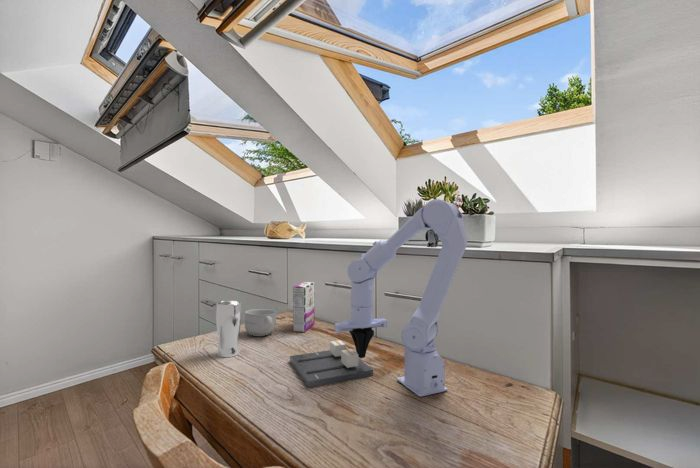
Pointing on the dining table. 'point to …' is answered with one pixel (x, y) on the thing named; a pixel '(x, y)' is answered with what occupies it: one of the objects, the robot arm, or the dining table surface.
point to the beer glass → (228, 327)
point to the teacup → (260, 321)
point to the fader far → (337, 347)
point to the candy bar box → (303, 306)
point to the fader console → (327, 368)
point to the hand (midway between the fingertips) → (360, 356)
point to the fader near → (349, 358)
